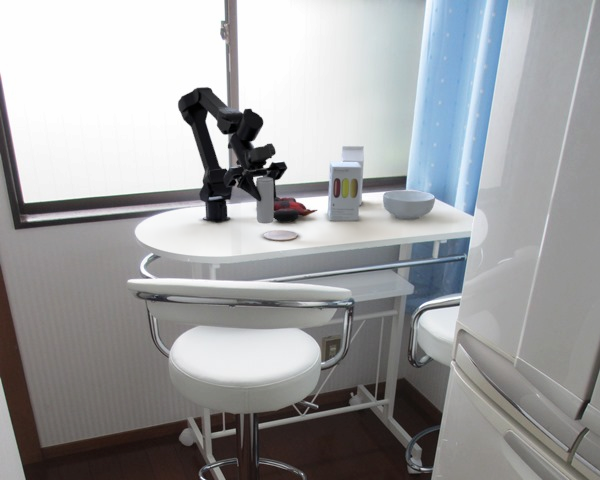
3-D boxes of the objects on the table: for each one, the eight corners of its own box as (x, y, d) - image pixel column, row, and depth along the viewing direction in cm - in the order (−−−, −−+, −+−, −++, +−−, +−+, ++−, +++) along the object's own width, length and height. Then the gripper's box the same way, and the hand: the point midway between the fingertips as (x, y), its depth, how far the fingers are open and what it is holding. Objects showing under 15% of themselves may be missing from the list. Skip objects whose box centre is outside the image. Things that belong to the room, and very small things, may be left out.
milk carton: (361, 205, 238) (364, 148, 228) (340, 205, 238) (342, 148, 229) (360, 201, 244) (362, 144, 235) (340, 200, 244) (342, 144, 235)
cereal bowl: (441, 221, 220) (443, 199, 216) (392, 225, 216) (394, 202, 212) (420, 209, 234) (422, 188, 230) (374, 212, 230) (375, 190, 227)
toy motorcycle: (278, 228, 216) (325, 216, 219) (275, 212, 213) (323, 200, 216) (257, 211, 237) (300, 201, 240) (254, 196, 234) (298, 186, 237)
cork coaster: (256, 236, 203) (256, 235, 203) (278, 229, 210) (278, 228, 210) (283, 243, 198) (283, 241, 197) (304, 235, 205) (304, 234, 204)
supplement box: (329, 221, 219) (331, 166, 211) (327, 213, 227) (328, 161, 219) (359, 221, 220) (362, 166, 212) (355, 213, 228) (358, 161, 220)
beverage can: (256, 219, 198) (255, 176, 192) (273, 219, 199) (273, 176, 193) (256, 224, 194) (256, 180, 188) (273, 223, 195) (273, 180, 189)
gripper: (227, 136, 183) (250, 186, 181) (283, 130, 193) (306, 178, 190) (213, 162, 192) (235, 210, 190) (268, 155, 202) (289, 201, 200)
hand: (267, 199), depth 192 cm, fingers closed on beverage can, 5 cm apart
